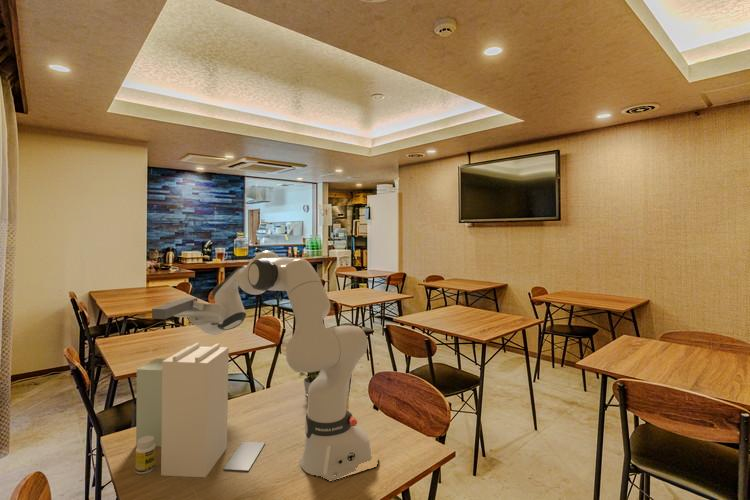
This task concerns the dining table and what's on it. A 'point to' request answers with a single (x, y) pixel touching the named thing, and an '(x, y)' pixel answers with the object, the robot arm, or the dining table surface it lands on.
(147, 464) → the supplement bottle
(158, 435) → the pale green block
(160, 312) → the bar
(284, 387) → the dining table surface
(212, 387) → the outlet wall
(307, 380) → the house plant
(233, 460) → the plate
